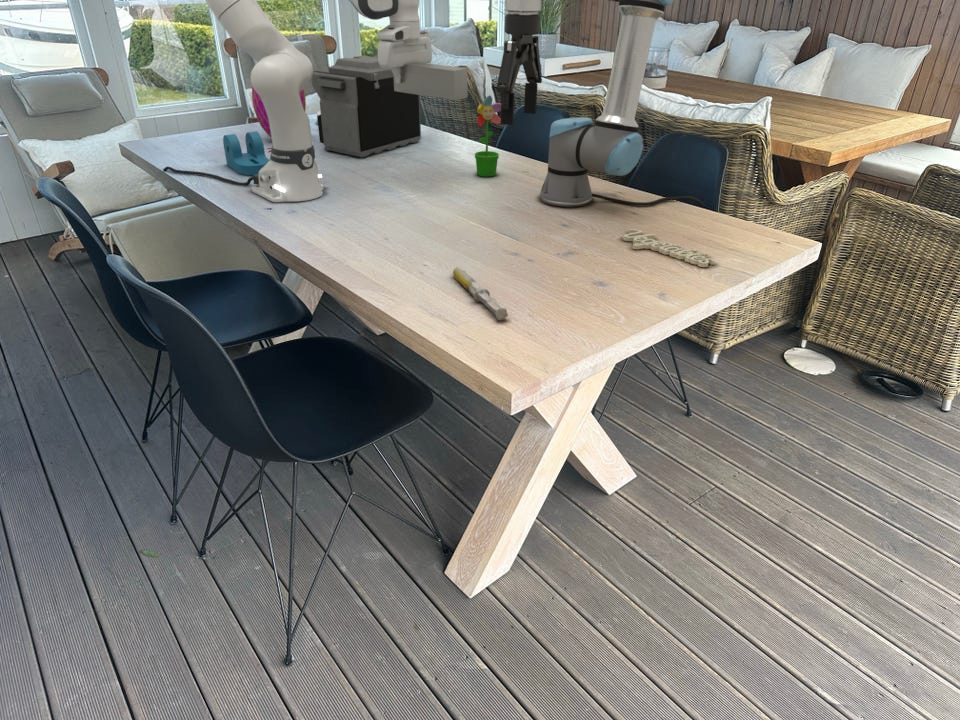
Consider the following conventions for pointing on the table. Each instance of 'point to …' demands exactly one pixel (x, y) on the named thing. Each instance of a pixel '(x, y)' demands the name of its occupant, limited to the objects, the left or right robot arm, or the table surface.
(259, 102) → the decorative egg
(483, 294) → the syringe
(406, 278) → the table surface
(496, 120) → the potted flower
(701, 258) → the decorative sign
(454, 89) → the bar
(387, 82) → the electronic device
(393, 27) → the left robot arm
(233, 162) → the camera mount
